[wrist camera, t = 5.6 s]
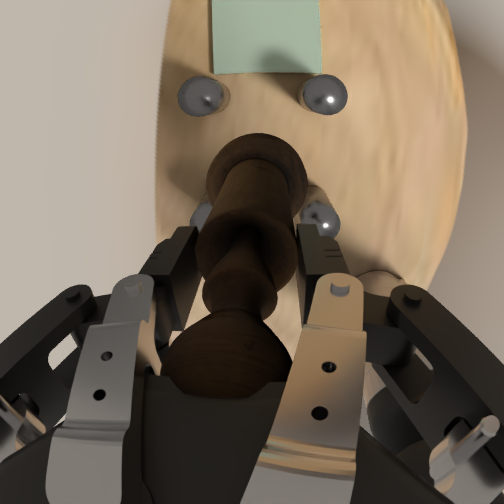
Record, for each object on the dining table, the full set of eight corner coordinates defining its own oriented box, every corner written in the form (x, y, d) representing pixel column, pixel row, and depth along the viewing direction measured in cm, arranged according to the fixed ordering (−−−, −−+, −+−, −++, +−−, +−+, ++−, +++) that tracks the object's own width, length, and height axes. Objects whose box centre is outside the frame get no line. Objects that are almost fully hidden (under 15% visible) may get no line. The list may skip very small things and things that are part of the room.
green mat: (315, -17, 20) (317, -19, 20) (320, 74, 26) (321, 73, 25) (213, -15, 21) (211, -18, 20) (215, 74, 27) (213, 74, 26)
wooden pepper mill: (234, 231, 23) (176, 478, 7) (196, 155, 20) (12, 348, 4) (316, 201, 21) (395, 453, 6) (284, 118, 18) (368, 241, 3)
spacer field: (330, 81, 26) (347, 76, 20) (326, 215, 34) (338, 243, 28) (196, 82, 27) (176, 79, 21) (205, 215, 35) (192, 242, 29)
